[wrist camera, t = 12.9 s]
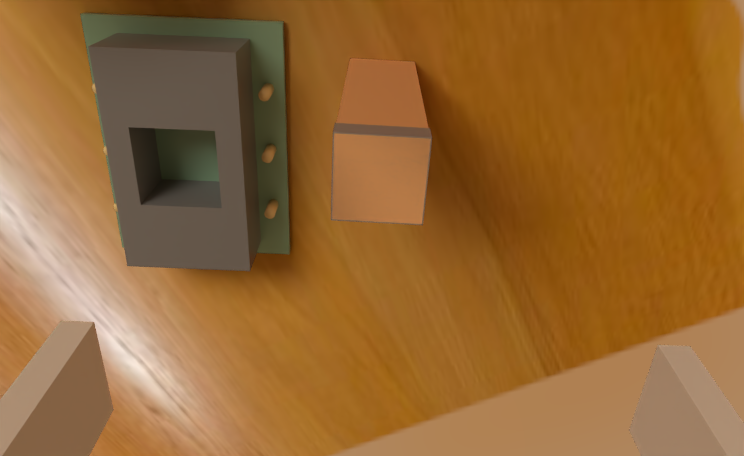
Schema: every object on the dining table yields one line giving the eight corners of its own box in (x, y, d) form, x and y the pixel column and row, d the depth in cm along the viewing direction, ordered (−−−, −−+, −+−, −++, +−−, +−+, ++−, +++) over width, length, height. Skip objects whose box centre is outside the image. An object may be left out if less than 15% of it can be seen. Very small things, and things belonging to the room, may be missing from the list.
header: (83, 12, 36) (47, 25, 32) (283, 21, 36) (271, 35, 32) (125, 243, 44) (99, 277, 40) (290, 250, 44) (281, 284, 40)
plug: (349, 57, 37) (333, 132, 25) (415, 61, 37) (432, 137, 25) (347, 121, 39) (331, 220, 27) (410, 124, 39) (422, 225, 27)
